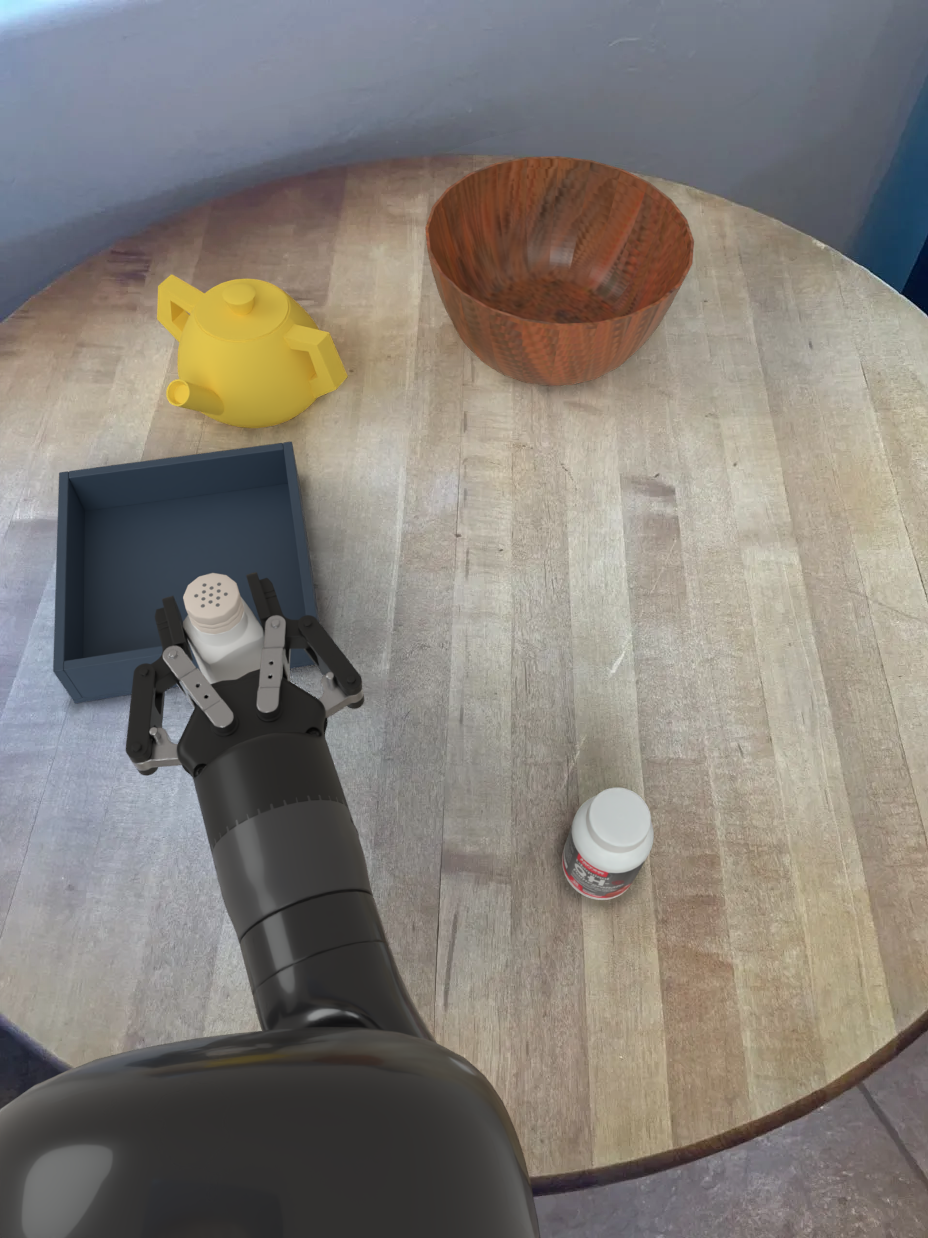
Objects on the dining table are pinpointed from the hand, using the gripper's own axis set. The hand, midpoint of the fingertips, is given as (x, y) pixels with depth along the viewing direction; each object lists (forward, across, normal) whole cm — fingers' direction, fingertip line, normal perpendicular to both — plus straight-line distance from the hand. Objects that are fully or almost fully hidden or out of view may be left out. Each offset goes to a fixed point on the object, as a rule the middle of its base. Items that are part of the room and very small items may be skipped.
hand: (212, 593), depth 60 cm
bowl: (+33, -39, +18) cm, 54 cm away
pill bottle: (-19, -20, +18) cm, 33 cm away
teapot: (+34, -8, +18) cm, 39 cm away
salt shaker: (-3, 0, +6) cm, 7 cm away
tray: (+15, +2, +18) cm, 23 cm away
